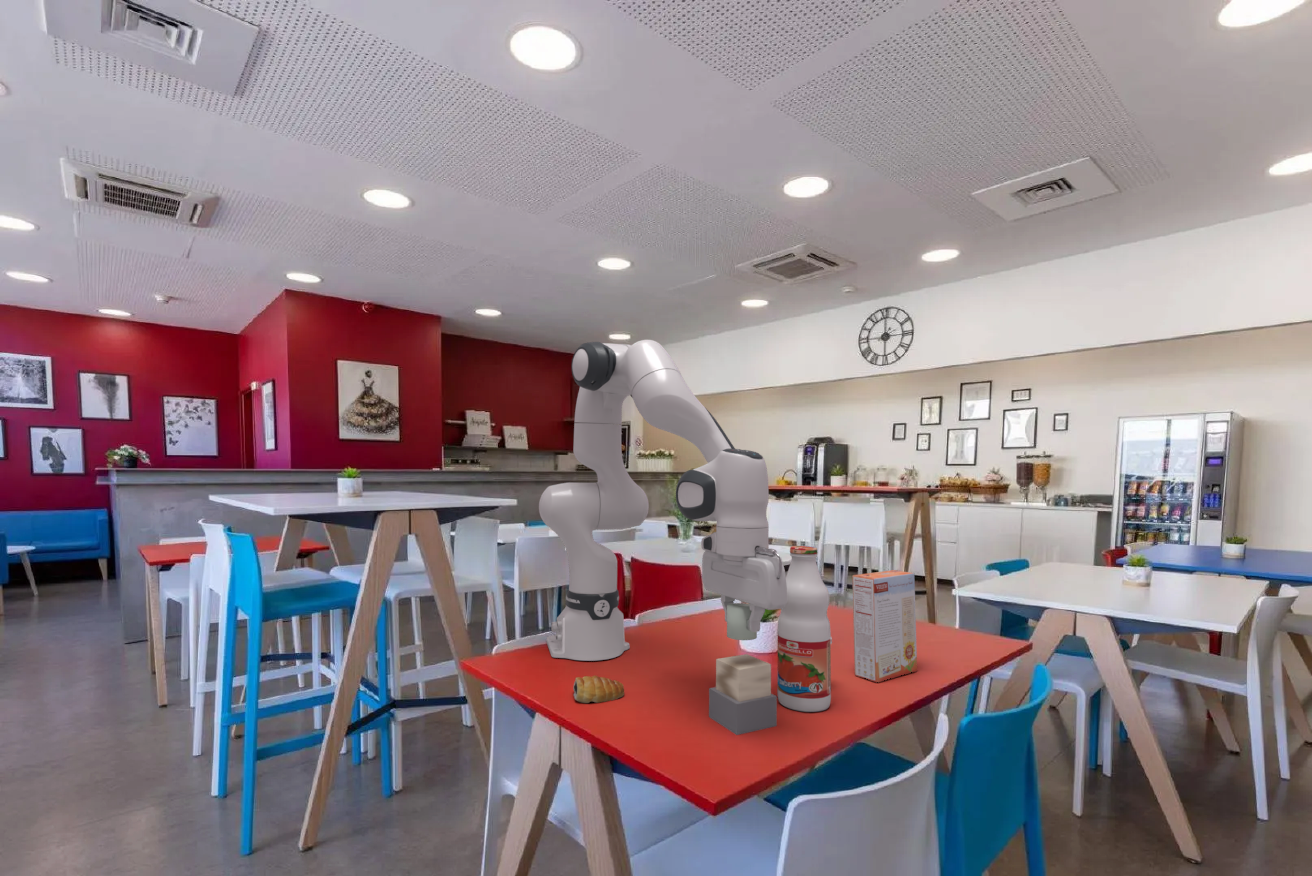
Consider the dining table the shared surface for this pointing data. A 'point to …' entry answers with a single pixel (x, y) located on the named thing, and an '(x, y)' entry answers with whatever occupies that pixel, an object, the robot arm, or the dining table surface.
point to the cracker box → (884, 625)
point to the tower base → (742, 712)
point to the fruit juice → (804, 636)
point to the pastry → (597, 689)
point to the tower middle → (743, 677)
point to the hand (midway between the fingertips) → (741, 626)
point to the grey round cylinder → (739, 622)
